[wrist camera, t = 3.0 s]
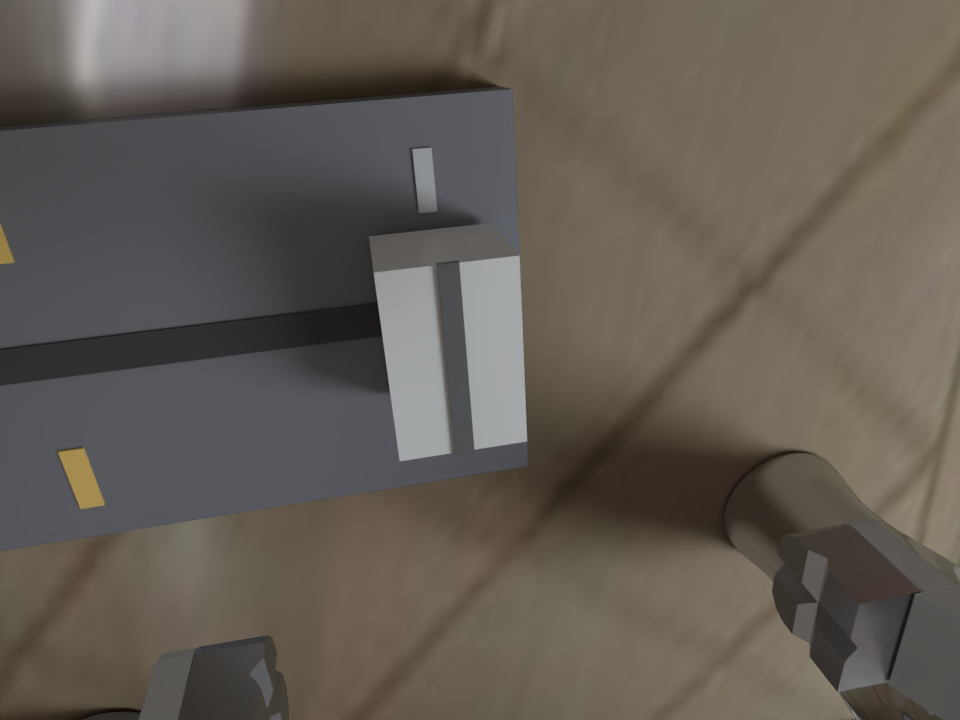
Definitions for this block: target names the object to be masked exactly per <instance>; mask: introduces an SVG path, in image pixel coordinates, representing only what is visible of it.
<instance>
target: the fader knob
mask: <svg viewBox="0 0 960 720" xmlns="http://www.w3.org/2000/svg"><path fill="white" fill-rule="evenodd" d="M369 241H370V249H371V257H372V265H373V272H374V279H375V287H376V294H377V301H378V308H379V316H380V323H381V330H382V337H383V344H384V352H385V359H386V366H387V373H388V381H389V388H390V395H391V402H392V409H393V417H394V424H395V431H396V438H397V445H398V453H399V460H400V461H405V460H411V459H418V458H424V457H431V456H437V455H444V454H450V453H455V456H456V457H457V456H463V455H470V454H475V450H476V449H482V448H488V447H495V446H501V445H508V444H514V443H521V442H527V423H526V399H525V375H524V351H523V327H522V303H521V279H520V256H519V254H518V253H517V252H516V251H515V250H514V249H513V248H512V246H511V245H510V244H509V243H508V242H507V241H506V239H505V238H504V237H503V236H502V235H501V234H500V233H499V231H498V230H497V229H496V228H495V227H494V226H493V224H492V223H486V224H477V225H468V226H458V227H449V228H440V229H431V230H422V231H413V232H404V233H394V234H385V235H376V236H369Z"/></svg>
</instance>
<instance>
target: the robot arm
mask: <svg viewBox="0 0 960 720" xmlns="http://www.w3.org/2000/svg"><path fill="white" fill-rule="evenodd" d="M778 556H779V557H780V558H781V559H782V561H783V562H784V564H783V565H782V567H781V568H780V569H779V570H778V571H777V573H776V574H775V575H774V580H773V589H772V593H773V597H774V601H775V605H776V609H777V611H778V613H779V615H780V617H781V619H782V621H783V622H784V624H785V625H786V626H787V628H788V629H789V630H790V632H791V633H792V634H793V635H795V636H797V637H799V638H801V639H803V640H805V641H806V642H808V643H810V658H811V659H812V660H813V661H814V663H815V664H816V665H817V667H818V668H819V669H820V670H821V672H822V673H823V674H824V676H825V677H826V678H827V679H828V681H829V682H830V683H831V684H832V686H833V687H834V688H835V690H836V691H837V692H841V691H846V690H851V689H856V688H861V687H866V686H871V685H876V684H881V683H886V682H889V686H891V687H892V688H894V689H895V690H897V691H899V692H900V693H902V694H903V695H905V696H906V697H908V698H910V699H911V700H913V701H914V702H916V703H917V704H919V705H921V706H922V707H924V708H925V709H927V710H928V711H930V712H932V713H933V714H935V715H936V716H938V717H939V718H941V719H943V720H960V585H956V586H953V585H952V584H951V583H950V582H949V581H948V580H947V579H945V578H944V577H943V576H942V575H941V574H940V573H938V572H937V571H936V570H935V569H934V568H933V567H932V566H930V565H929V564H928V563H927V562H926V561H925V560H924V559H922V558H921V557H920V556H919V555H918V554H917V553H915V552H914V551H913V550H912V549H911V548H910V547H909V546H907V545H906V544H905V543H904V542H903V541H902V540H901V539H899V538H898V537H897V536H896V535H895V534H894V533H892V532H891V531H890V530H889V529H888V528H887V527H886V526H884V525H883V524H882V523H881V522H879V521H877V520H874V519H872V518H867V519H862V520H857V521H852V522H847V523H842V524H841V525H833V526H828V527H823V528H818V529H813V530H808V531H803V532H798V533H793V534H788V535H785V536H784V537H783V539H782V540H781V541H780V544H779V550H778ZM276 659H277V651H276V648H275V645H274V642H273V638H272V637H271V636H269V635H267V636H261V637H255V638H249V639H243V640H237V641H231V642H225V643H220V644H214V645H208V646H202V647H199V648H194V649H188V650H182V651H176V652H170V653H164V654H162V655H161V656H160V658H159V659H158V661H157V662H156V664H155V666H154V669H153V672H152V676H151V679H150V683H149V686H148V689H147V693H146V696H145V699H144V703H143V706H142V709H141V713H140V716H139V719H138V720H289V703H288V696H287V689H286V684H285V680H284V676H283V674H282V673H280V672H278V671H277V670H276Z"/></svg>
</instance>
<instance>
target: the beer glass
mask: <svg viewBox="0 0 960 720" xmlns="http://www.w3.org/2000/svg"><path fill="white" fill-rule="evenodd" d="M867 518H872V519H874V520H877V521H879V522H881V523H882V524H883V525H884V526H886V527H887V528H888V529H889V530H890V531H891V532H892V533H894V534H895V535H896V536H897V537H898V538H899V539H901V540H902V541H903V542H904V543H905V544H906V545H907V546H909V547H910V548H911V549H912V550H913V551H914V552H915V553H917V554H918V555H919V556H920V557H921V558H922V559H924V560H925V561H926V562H927V563H928V564H929V565H930V566H932V567H933V568H934V569H935V570H936V571H937V572H938V573H940V574H941V575H942V576H943V577H944V578H945V579H947V580H948V581H949V582H950V583H951V584H952V585H953V586H956V585H960V566H958V565H956V564H955V563H953V562H951V561H950V560H948V559H946V558H945V557H943V556H941V555H940V554H938V553H936V552H935V551H933V550H931V549H930V548H928V547H926V546H924V545H923V544H921V543H919V542H918V541H916V540H914V539H912V538H911V537H909V536H907V535H906V534H904V533H903V532H901V531H899V530H898V529H896V528H895V527H893V526H891V525H890V524H888V523H887V522H885V521H884V520H883V519H881V518H880V517H879V516H877V515H876V514H875V513H874V512H872V511H871V510H870V509H869V508H868V507H867V506H866V505H865V504H864V503H863V502H862V501H861V500H860V499H859V498H858V497H857V496H856V494H855V493H854V492H853V490H852V489H851V488H850V487H849V485H848V484H847V483H846V481H845V480H844V479H843V477H842V476H841V475H840V474H839V472H838V471H837V470H836V469H835V468H834V467H833V466H832V465H831V464H830V463H829V462H828V461H826V460H825V459H823V458H821V457H819V456H817V455H814V454H810V453H789V454H784V455H780V456H777V457H775V458H772V459H770V460H768V461H766V462H764V463H762V464H760V465H759V466H757V467H756V468H754V469H753V470H752V471H750V472H749V473H748V474H747V475H746V476H745V477H744V478H743V479H742V480H741V481H740V482H739V483H738V485H737V486H736V487H735V489H734V490H733V492H732V494H731V495H730V497H729V499H728V502H727V504H726V508H725V511H724V529H725V532H726V535H727V537H728V539H729V541H730V542H731V543H732V545H733V546H734V547H735V548H736V549H737V550H738V551H739V552H740V553H741V554H743V555H744V556H745V557H746V558H747V559H748V560H750V561H751V562H752V563H753V564H755V565H756V566H757V567H758V568H759V569H761V570H762V571H763V572H764V573H765V574H766V575H767V576H768V577H769V578H770V579H771V580H772V581H773V580H774V575H775V574H776V573H777V571H778V570H779V569H780V568H781V567H782V565H783V564H784V562H783V561H782V559H781V558H780V557H779V556H778V550H779V544H780V541H781V540H782V539H783V537H784V536H785V535H788V534H793V533H798V532H803V531H808V530H813V529H818V528H823V527H828V526H833V525H841V524H842V523H847V522H852V521H857V520H862V519H867ZM839 693H840V695H841V697H842V698H843V700H844V701H845V703H846V705H847V706H848V708H849V710H850V711H851V713H852V714H853V716H854V717H855V718H856V720H943V719H941V718H939V717H938V716H936V715H935V714H933V713H932V712H930V711H928V710H927V709H925V708H924V707H922V706H921V705H919V704H917V703H916V702H914V701H913V700H911V699H910V698H908V697H906V696H905V695H903V694H902V693H900V692H899V691H897V690H895V689H894V688H892V687H891V686H889V682H886V683H881V684H876V685H871V686H866V687H861V688H856V689H851V690H846V691H841V692H839Z"/></svg>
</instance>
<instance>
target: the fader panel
mask: <svg viewBox="0 0 960 720" xmlns="http://www.w3.org/2000/svg"><path fill="white" fill-rule="evenodd" d="M486 223H492V224H493V226H494V227H495V228H496V229H497V230H498V231H499V233H500V234H501V235H502V236H503V237H504V238H505V239H506V241H507V242H508V243H509V244H510V245H511V246H512V248H513V249H514V250H515V251H516V252H517V253H518V254H519V256H520V253H519V229H518V205H517V181H516V157H515V133H514V109H513V89H510V88H505V87H500V86H497V87H485V88H472V89H460V90H448V91H435V92H423V93H411V94H398V95H386V96H374V97H362V98H349V99H337V100H325V101H312V102H300V103H288V104H275V105H263V106H251V107H238V108H226V109H214V110H202V111H189V112H177V113H165V114H152V115H140V116H128V117H115V118H103V119H91V120H78V121H66V122H54V123H41V124H29V125H17V126H5V127H0V551H4V550H10V549H17V548H23V547H29V546H35V545H41V544H48V543H54V542H60V541H66V540H72V539H79V538H85V537H91V536H97V535H103V534H110V533H116V532H122V531H128V530H135V529H141V528H147V527H153V526H159V525H166V524H172V523H178V522H184V521H190V520H197V519H203V518H209V517H215V516H222V515H228V514H234V513H240V512H246V511H253V510H259V509H265V508H271V507H277V506H284V505H290V504H296V503H302V502H308V501H315V500H321V499H327V498H333V497H340V496H346V495H352V494H358V493H364V492H371V491H377V490H383V489H389V488H395V487H402V486H408V485H414V484H420V483H427V482H433V481H439V480H445V479H451V478H458V477H464V476H470V475H476V474H482V473H489V472H495V471H501V470H507V469H513V468H520V467H526V466H528V445H527V442H521V443H514V444H508V445H501V446H495V447H488V448H482V449H476V450H475V454H470V455H463V456H457V457H456V456H455V453H450V454H444V455H437V456H431V457H424V458H418V459H411V460H405V461H400V460H399V453H398V445H397V438H396V431H395V424H394V417H393V409H392V402H391V395H390V388H389V381H388V373H387V366H386V359H385V352H384V344H383V337H382V330H381V323H380V316H379V308H378V301H377V294H376V287H375V279H374V272H373V265H372V257H371V249H370V241H369V236H376V235H385V234H394V233H404V232H413V231H422V230H431V229H440V228H449V227H458V226H468V225H477V224H486ZM520 279H521V277H520ZM521 303H522V301H521ZM522 327H523V325H522ZM523 351H524V349H523ZM524 375H525V373H524ZM525 399H526V397H525ZM526 423H527V421H526Z"/></svg>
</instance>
